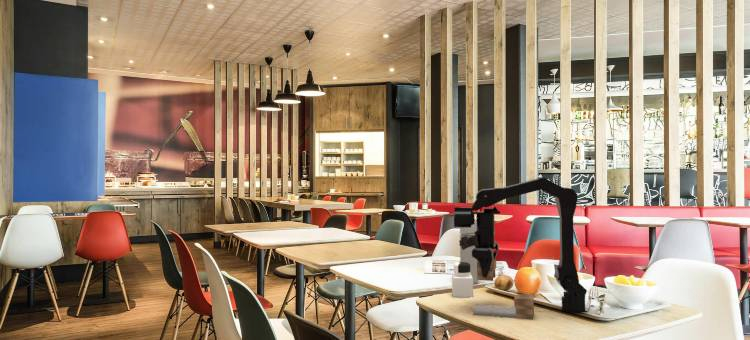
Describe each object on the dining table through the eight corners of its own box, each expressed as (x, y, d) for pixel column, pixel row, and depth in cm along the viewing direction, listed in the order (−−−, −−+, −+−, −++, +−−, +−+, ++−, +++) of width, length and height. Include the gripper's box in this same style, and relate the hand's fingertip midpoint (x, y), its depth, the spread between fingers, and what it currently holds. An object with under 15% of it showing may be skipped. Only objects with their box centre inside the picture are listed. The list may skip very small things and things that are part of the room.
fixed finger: (533, 314, 158) (533, 294, 159) (533, 319, 153) (532, 299, 153) (515, 312, 160) (515, 293, 160) (514, 318, 155) (514, 298, 155)
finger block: (496, 277, 168) (496, 259, 168) (494, 281, 163) (493, 262, 163) (480, 276, 170) (479, 258, 170) (477, 279, 165) (476, 261, 165)
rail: (533, 316, 158) (533, 306, 158) (533, 322, 153) (532, 311, 153) (475, 312, 165) (475, 302, 165) (472, 317, 159) (472, 307, 159)
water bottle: (460, 284, 206) (459, 222, 206) (460, 280, 213) (459, 220, 213) (483, 285, 204) (482, 222, 204) (482, 280, 212) (481, 220, 212)
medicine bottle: (471, 292, 191) (470, 260, 191) (473, 297, 184) (472, 264, 184) (452, 292, 192) (451, 260, 192) (453, 297, 185) (452, 264, 185)
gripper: (466, 224, 178) (467, 268, 178) (455, 230, 161) (456, 279, 161) (498, 224, 174) (499, 270, 174) (491, 231, 157) (492, 281, 157)
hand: (486, 275), depth 167 cm, fingers closed on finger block, 6 cm apart
